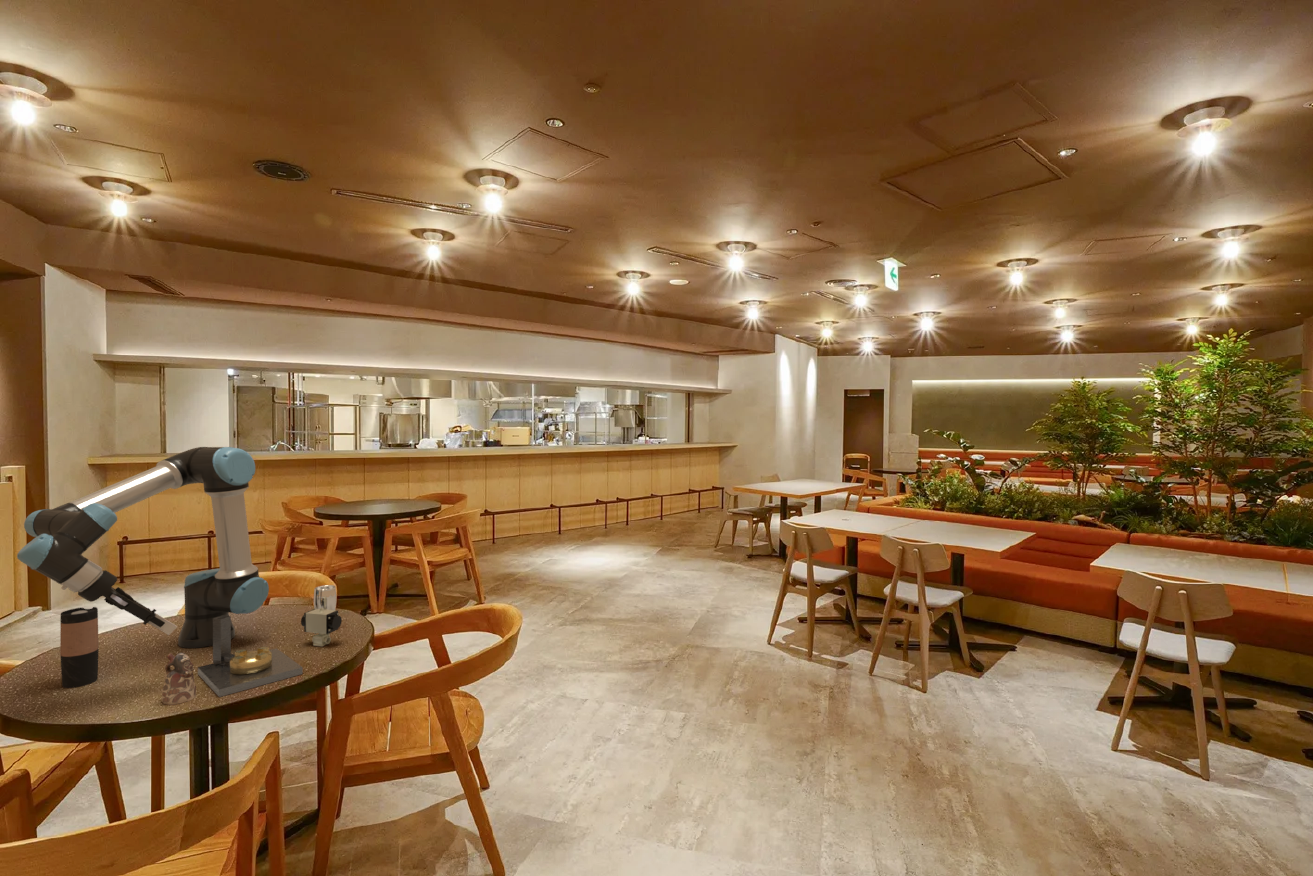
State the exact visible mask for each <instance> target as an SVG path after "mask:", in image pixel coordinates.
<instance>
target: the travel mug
mask: <svg viewBox="0 0 1313 876" xmlns="http://www.w3.org/2000/svg"><path fill="white" fill-rule="evenodd" d="M98 614H99V608H98V607H96V606H94V607H92V608H84V607H77V608H71V609H67V610H64V611H62V612H61V613H60V618H59V619H60V623H59V624H60V627H59V628H60V630H59V631H60V635H59V636H60V642H59V643H60V668H61V669H60V672H61V686H62V688H66V689H67V688H68V689H71V688H72V689H73V688H79V687H83V686H87V685H90V684H93V683H95V682H96V681H97V680H98V677H99V650H100V649H99V644H100V643H99V615H98ZM92 682H93V683H92Z"/></svg>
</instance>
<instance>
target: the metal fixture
mask: <svg viewBox="0 0 1313 876" xmlns="http://www.w3.org/2000/svg"><path fill="white" fill-rule="evenodd" d="M231 617H232V616H231V615H229V616H224V615H222V616H219V617H216V618H213V645H212V658H213V659H212V664H213V663H217V664H223V663H225V662H230V672H231V673H233V674H249V673H254V672H258V671H261V670H264V669H266V668H268V667H270V666H271V665H272V652H270V651H269V650H270V648H269V646H261V647H257V650H251V651H250V650H249V651H248V650H247V649H240V650H237V651H235V652H234V654H233V653H232V647H231V646H232V643H231V642H232V641H231V640H232V639H231V621H232V618H231Z"/></svg>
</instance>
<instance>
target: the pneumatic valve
mask: <svg viewBox="0 0 1313 876" xmlns="http://www.w3.org/2000/svg"><path fill="white" fill-rule="evenodd" d="M342 620H343V619H342V617H341V615H340V613H339V610H338V609H337V610H336V609H335V610H327V609H326V610H324V609H323V608H320V609H311V610H309V611H306V612H305V611H304V613H303V614H302V617H301V619H300V624H301V626H302V627H303V632H304V633H312V634H313V633H314V635H313V636H312V638H311V641H312V645H313V647H324V646H327V645H329V644H330V643H331V640H332V638H331V633H333V632H335V631H337V630H339V628H340V627H341V625H342Z"/></svg>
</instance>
